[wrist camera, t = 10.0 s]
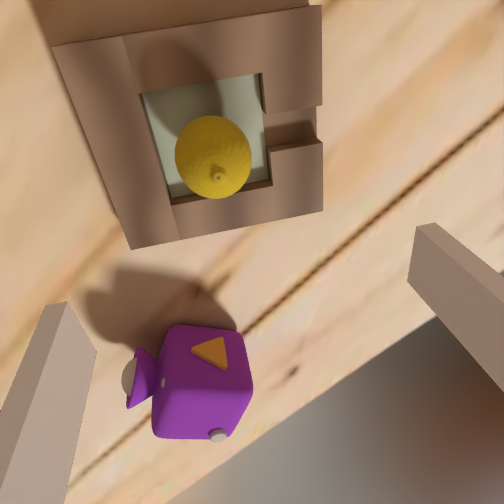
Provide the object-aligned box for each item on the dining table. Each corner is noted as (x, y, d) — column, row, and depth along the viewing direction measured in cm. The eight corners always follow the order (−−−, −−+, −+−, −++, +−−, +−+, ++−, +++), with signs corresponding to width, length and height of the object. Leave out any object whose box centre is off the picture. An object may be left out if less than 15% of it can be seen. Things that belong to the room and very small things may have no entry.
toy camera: (125, 316, 39) (112, 396, 31) (245, 315, 43) (262, 387, 35) (127, 379, 45) (118, 460, 37) (233, 373, 48) (245, 447, 40)
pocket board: (133, 235, 34) (131, 249, 32) (61, 44, 25) (50, 47, 23) (314, 199, 35) (323, 210, 33) (309, 5, 26) (321, 5, 24)
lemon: (219, 90, 27) (233, 115, 21) (253, 150, 30) (276, 189, 24) (159, 129, 28) (156, 166, 21) (199, 184, 31) (206, 230, 25)
